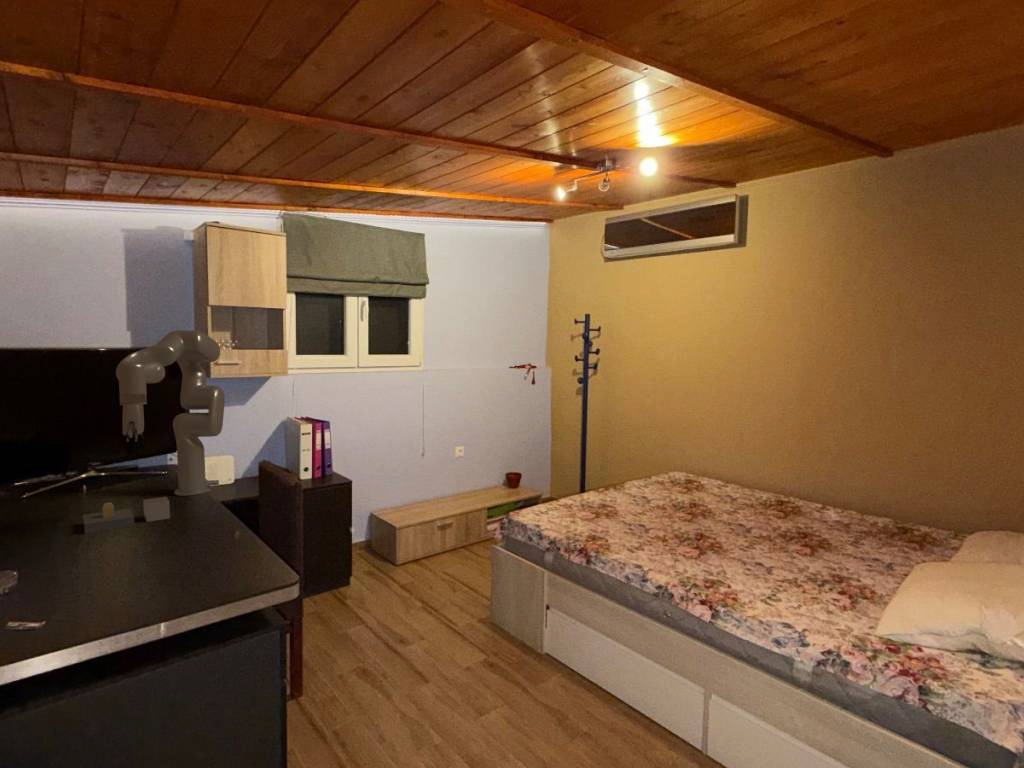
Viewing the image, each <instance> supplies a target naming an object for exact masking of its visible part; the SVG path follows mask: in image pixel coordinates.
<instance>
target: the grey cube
mask: <svg viewBox="0 0 1024 768" xmlns="http://www.w3.org/2000/svg"><path fill="white" fill-rule="evenodd" d="M170 511H171V507H170V500H169V498H168V497H167V496H163V497H161V496H160V497H154V498H146V499H143V518H144V520H145V522H147V523H149V522H155V521H161V520H168V519H171V515H170V514H171V512H170Z"/></svg>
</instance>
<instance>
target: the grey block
mask: <svg viewBox="0 0 1024 768" xmlns="http://www.w3.org/2000/svg"><path fill="white" fill-rule="evenodd" d="M101 507H102V508H101V510H102V512H95V513H90V514H89V513H88V514H83V515H82V516H83V517H82V519H83V528H84V534H92V533H99V532H106V531H112V530H118V529H123V528H130V527H135V516H134V514H133V511H132V509H131V508H124V509H118V510H117V509H116V510H115V506H114V504H113V503H112V502H107V503H103V505H102V506H101Z"/></svg>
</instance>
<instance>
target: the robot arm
mask: <svg viewBox="0 0 1024 768" xmlns="http://www.w3.org/2000/svg"><path fill="white" fill-rule="evenodd" d="M220 356H221V347H220V345H219V344H218V342H217V341H215V340H214V339H213V338H212V337H210V336H209V335H208V334H206V333H204V332H202V331H201V330H174V331H170V332H168V333H167V334H166V335H165V336H164V337H163V338H161V340H159V341H158V342H157V343H156V344H154V345H152V346H149V347H146V348H142V349H141V350H138V351H135V352H131V353H130V354H128V355H127V356H126V357H124V358H123V359H122V360H121V361H120V362H119V363H118V365H117V367H116V368H115V369H116V370H115V376H116V378H117V380H118V385H119V405H120V406H122V435H123V436H127V437H126V455H138V454H139V452H140V450H144V447H145V445H144V444H145V443H144V435H143V432H144V430H145V413H144V412H145V411H144V405H147V404H148V402H147V401H148V400H147V399H148V398H147V384H157V383H161V381H162V380H163V379H164V378H165V376H166V370H165V367H167V366H170V365H172V364H174V363H175V362H177V364H178V366H179V368H180V371H181V375H182V377H181V378H182V379H181V387H180V388H181V390H180V401H179V402H180V406H181V407H182V408H183V409H184V410H192V411H193V410H196V411H197V410H198V411H199V410H208V411H207V412H183V413H179V414H177V415H176V416H175V417H174V419H173V422H172V427H173V428H172V429H173V433H174V435H175V442H176V455H177V456H176V457H177V459H176V460H177V477H178V479H177V481H178V488H177V489H175V490H174V492H173V494H174V495H175V496H179V497H180V496H181V497H182V496H183V497H185V496H187V497H188V496H196V495H198V496H199V495H202V494H207V493H209V492H210V491H211V486H218V485H220V481H219V479H216V480H214V479H213V480H212V479H211V480H208V479H207V478H206V462H205V461H206V459H205V457H206V456H205V455H206V454H205V447H204V446H205V445H204V444H203V442H202V440H201V439H200V438H203V437H204V438H205V437H206V438H207V437H208V438H209V437H210V438H213V437H217V436H219V435H220V434H221V433H222V430H223V425H224V424H223V423H224V414H225V400H226V399H225V398H226V397H225V393H224V390H223V389H222V388H221V387H220V386H218V385H207V372H206V371H205V370H204V368H203V367H202V366H201V365H200V363H214V362H217V360H219V358H220ZM199 437H200V438H199Z"/></svg>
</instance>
